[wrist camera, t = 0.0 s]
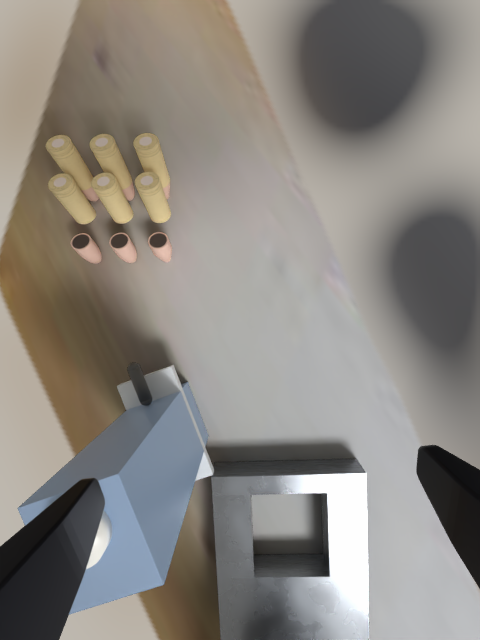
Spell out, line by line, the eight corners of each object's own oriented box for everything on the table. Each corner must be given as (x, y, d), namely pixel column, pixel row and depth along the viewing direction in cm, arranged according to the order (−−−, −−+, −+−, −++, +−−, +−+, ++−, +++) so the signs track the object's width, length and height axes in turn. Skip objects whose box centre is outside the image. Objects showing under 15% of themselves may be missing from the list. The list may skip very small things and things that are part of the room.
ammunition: (41, 128, 18) (48, 255, 19) (156, 126, 18) (159, 253, 18) (84, 164, 23) (88, 264, 23) (175, 162, 23) (177, 263, 23)
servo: (216, 457, 24) (177, 645, 11) (168, 473, 24) (73, 677, 11) (173, 344, 23) (77, 402, 10) (124, 362, 24) (-31, 440, 11)
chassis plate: (359, 612, 25) (369, 640, 23) (223, 613, 25) (220, 640, 23) (356, 458, 24) (366, 473, 22) (214, 462, 24) (211, 477, 22)
